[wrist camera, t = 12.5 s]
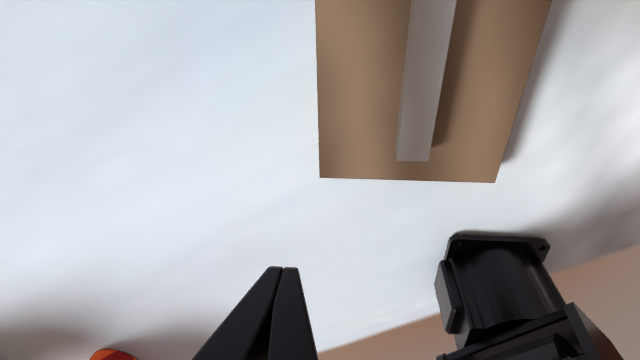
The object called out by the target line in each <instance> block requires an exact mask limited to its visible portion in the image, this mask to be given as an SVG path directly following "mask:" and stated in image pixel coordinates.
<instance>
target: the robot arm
mask: <svg viewBox="0 0 640 360" xmlns="http://www.w3.org/2000/svg"><path fill="white" fill-rule="evenodd" d="M455 242H458V243H455ZM539 246H540V247H539ZM549 249H550V245H549V244H548V242H547V240H545V239H539V238H516V237H492V236H469V235H454V236H452V237H450V239H449V241H448V245H447V249H446V253H445V257H444V260H441V261H440V263H439V267H438V271H437V275H436V279H435V283H434V286H435V290H436V296H437V299H438V303H439V308H440V312H441V316H442V320H443V325H444V330H445V331H446V332H447V333H448V334H454V337H455V342H456V346H457V350H456V351H453V352H451V353H448V354H445V353H444V354H442V355H439V356H437V358H436V360H624V359H623V358H622V356H621V355H620V354H619V352H618V351H617V349H616V348H615V346H614V345H613V344H612V342H611V341H610V340H609V339H608V338H607V336H606V335H605V334H604V333H603V332H602V331H601V330H600V329H599V328H598V327H597V326H596V325H595V324H594V323H593V322H592V321H591V320H590V319H589V318H588V317H587V316H586V315H585V314H584V313H583V312H582V311H581V310H580V309H579V307H577V305H576V304H575V303H574V302H572V303H569V304H567V305H566V303H565V301H564V300H563V298H562V297H561V294H560V293H559V291H558V289H557V288H556V286H555V284H554V282H553V281H552V279H551V277H550V275H549V274H548V272H547V270H546V269H545V267H544V265H543V261H544V259H545V257H546V255H547V253H548V251H549ZM191 360H318V355H317V351H316V346H315V342H314V337H313V333H312V328H311V324H310V319H309V315H308V311H307V306H306V302H305V297H304V293H303V288H302V284H301V279H300V275H299V270H298V268H296V267H285V268H283V267H279V266H270V267H268V268H267V270H266V271H265V272H264V273H263V274H262V276H261V277H260V278H259V279H258V280H257V282H256V283H255V284H254V285H253V286H252V288H251V289H250V290H249V291H248V292H247V294H246V295H245V296H244V297H243V298H242V300H241V301H240V302H239V303H238V304H237V306H236V307H235V308H234V309H233V310H232V311H231V313H230V314H229V315H228V316H227V317H226V319H225V320H224V321H223V322H222V323H221V325H220V326H219V327H218V328H217V329H216V331H215V332H214V333H213V334H212V335H211V337H210V338H209V339H208V340H207V341H206V343H205V344H204V345H203V346H202V347H201V349H200V350H199V351H198V352H197V353H196V355H195V356H194V357H193V358H192V359H191Z"/></svg>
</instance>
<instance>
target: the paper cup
mask: <svg viewBox="0 0 640 360" xmlns="http://www.w3.org/2000/svg"><path fill="white" fill-rule="evenodd" d="M90 360H137V359H136V358H134V357H133V356H131V355H129V354H127V353H124V352H121V351H117V350H111V349H103V350H99V351H97V352H95V353H94V354H93V356H92V357H91V358H90Z"/></svg>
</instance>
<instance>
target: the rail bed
mask: <svg viewBox="0 0 640 360" xmlns="http://www.w3.org/2000/svg"><path fill="white" fill-rule="evenodd" d="M551 1H552V0H315V15H316V53H317V91H318V130H319V168H320V178H348V179H381V180H415V181H448V182H481V183H495V181H496V177H497V174H498V171H499V168H500V165H501V161H502V158H503V155H504V152H505V149H506V145H507V142H508V139H509V136H510V132H511V129H512V126H513V123H514V120H515V116H516V113H517V110H518V107H519V104H520V100H521V97H522V94H523V91H524V88H525V84H526V81H527V78H528V75H529V72H530V68H531V65H532V62H533V59H534V56H535V52H536V49H537V46H538V43H539V40H540V36H541V33H542V30H543V27H544V23H545V20H546V17H547V14H548V11H549V7H550V4H551Z"/></svg>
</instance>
